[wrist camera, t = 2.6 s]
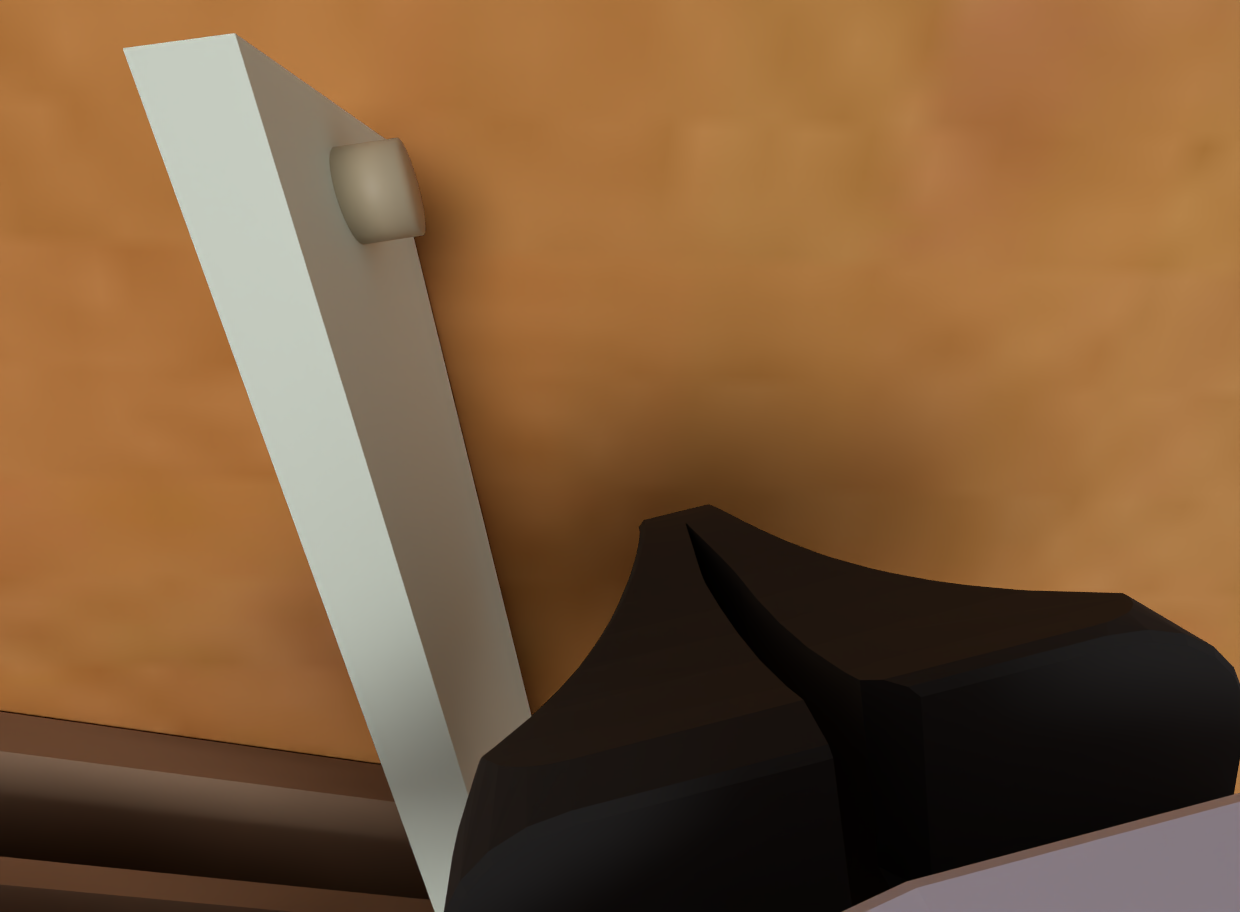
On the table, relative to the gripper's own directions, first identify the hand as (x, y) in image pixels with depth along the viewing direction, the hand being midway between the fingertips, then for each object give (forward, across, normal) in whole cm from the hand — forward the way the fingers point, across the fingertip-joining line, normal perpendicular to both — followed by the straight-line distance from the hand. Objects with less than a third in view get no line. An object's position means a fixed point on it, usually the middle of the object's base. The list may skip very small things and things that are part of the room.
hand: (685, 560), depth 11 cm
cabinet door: (+3, +4, -1) cm, 5 cm away
